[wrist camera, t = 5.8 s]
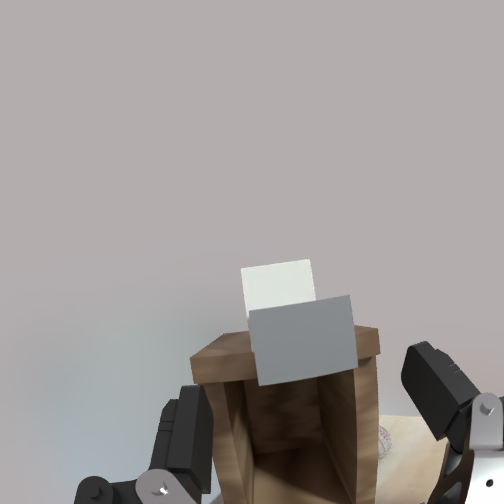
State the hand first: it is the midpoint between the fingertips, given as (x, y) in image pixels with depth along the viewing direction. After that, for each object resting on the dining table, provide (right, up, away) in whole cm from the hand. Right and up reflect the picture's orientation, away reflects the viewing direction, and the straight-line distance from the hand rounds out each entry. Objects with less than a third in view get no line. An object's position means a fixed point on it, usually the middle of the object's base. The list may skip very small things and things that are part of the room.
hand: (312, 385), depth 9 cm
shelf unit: (+5, -35, +13) cm, 37 cm away
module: (0, -2, +11) cm, 11 cm away
